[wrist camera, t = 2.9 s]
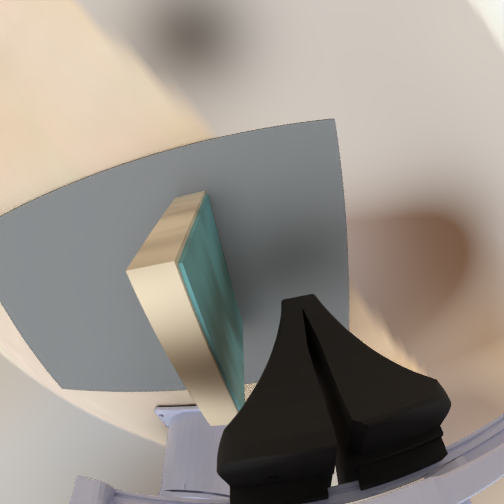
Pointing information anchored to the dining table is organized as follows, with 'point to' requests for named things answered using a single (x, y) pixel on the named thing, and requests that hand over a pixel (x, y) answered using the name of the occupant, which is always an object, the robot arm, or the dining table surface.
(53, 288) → the rubber mat
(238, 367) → the birch tile
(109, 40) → the dining table surface
